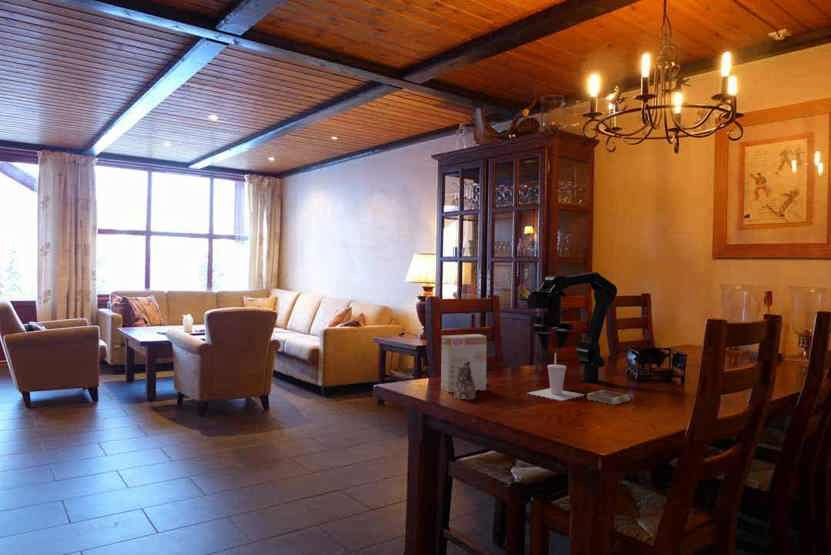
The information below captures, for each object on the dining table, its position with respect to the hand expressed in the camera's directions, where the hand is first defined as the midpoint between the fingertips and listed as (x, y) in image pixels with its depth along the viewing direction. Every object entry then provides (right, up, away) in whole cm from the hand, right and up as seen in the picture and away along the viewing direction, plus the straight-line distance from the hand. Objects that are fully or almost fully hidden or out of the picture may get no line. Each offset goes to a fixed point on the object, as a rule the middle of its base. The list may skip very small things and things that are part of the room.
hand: (552, 350), depth 224 cm
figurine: (-35, -13, -25) cm, 45 cm away
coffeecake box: (-35, -13, -12) cm, 39 cm away
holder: (+13, -14, -26) cm, 32 cm away
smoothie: (-3, -13, -19) cm, 23 cm away
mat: (-3, -13, -19) cm, 23 cm away
